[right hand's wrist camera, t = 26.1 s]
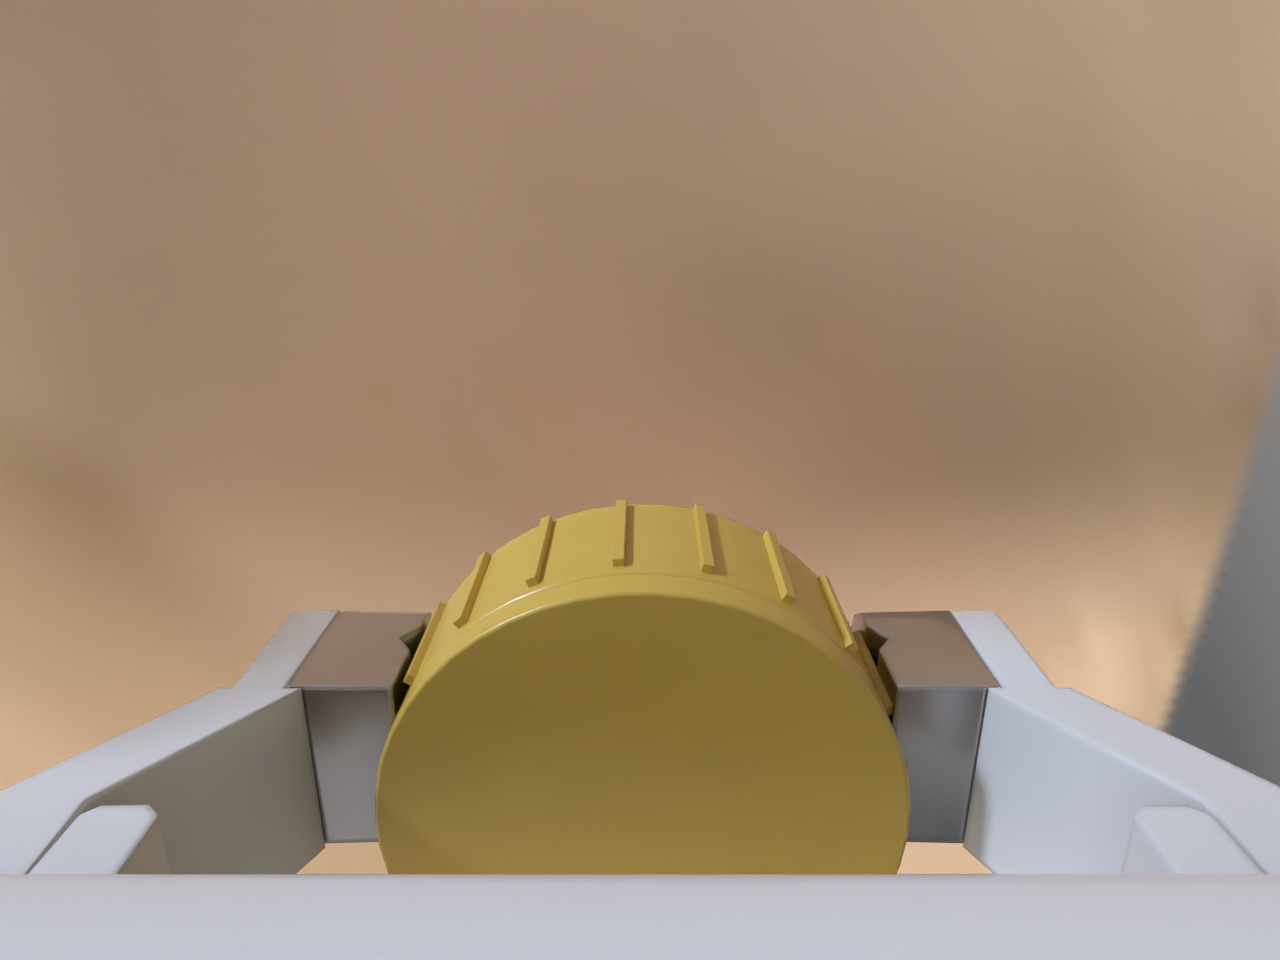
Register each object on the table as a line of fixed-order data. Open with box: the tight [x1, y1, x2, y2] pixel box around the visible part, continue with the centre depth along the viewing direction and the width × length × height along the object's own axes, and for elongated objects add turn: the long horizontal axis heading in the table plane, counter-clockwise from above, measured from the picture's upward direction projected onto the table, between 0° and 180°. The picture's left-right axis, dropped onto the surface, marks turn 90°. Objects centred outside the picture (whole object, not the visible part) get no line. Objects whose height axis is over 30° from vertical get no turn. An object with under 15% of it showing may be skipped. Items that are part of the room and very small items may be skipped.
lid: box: [375, 499, 911, 874], centre depth 9 cm, size 5×5×2 cm
